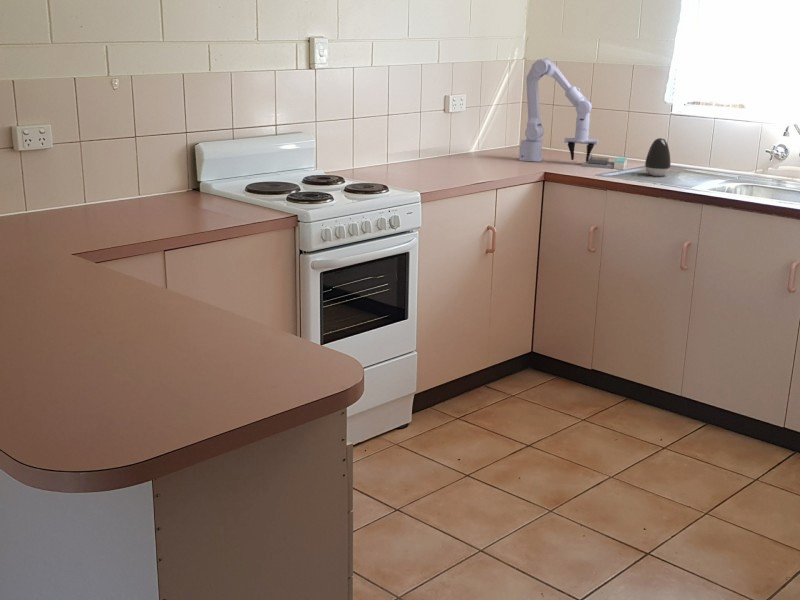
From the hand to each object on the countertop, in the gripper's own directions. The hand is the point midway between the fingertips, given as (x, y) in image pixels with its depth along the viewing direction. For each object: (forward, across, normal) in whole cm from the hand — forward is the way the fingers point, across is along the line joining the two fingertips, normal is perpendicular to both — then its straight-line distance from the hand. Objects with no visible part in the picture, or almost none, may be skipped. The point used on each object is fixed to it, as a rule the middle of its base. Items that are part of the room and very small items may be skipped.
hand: (579, 160), depth 408 cm
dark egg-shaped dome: (+2, +34, -14) cm, 37 cm away
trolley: (+2, +8, 0) cm, 8 cm away
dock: (+2, +11, 0) cm, 11 cm away
